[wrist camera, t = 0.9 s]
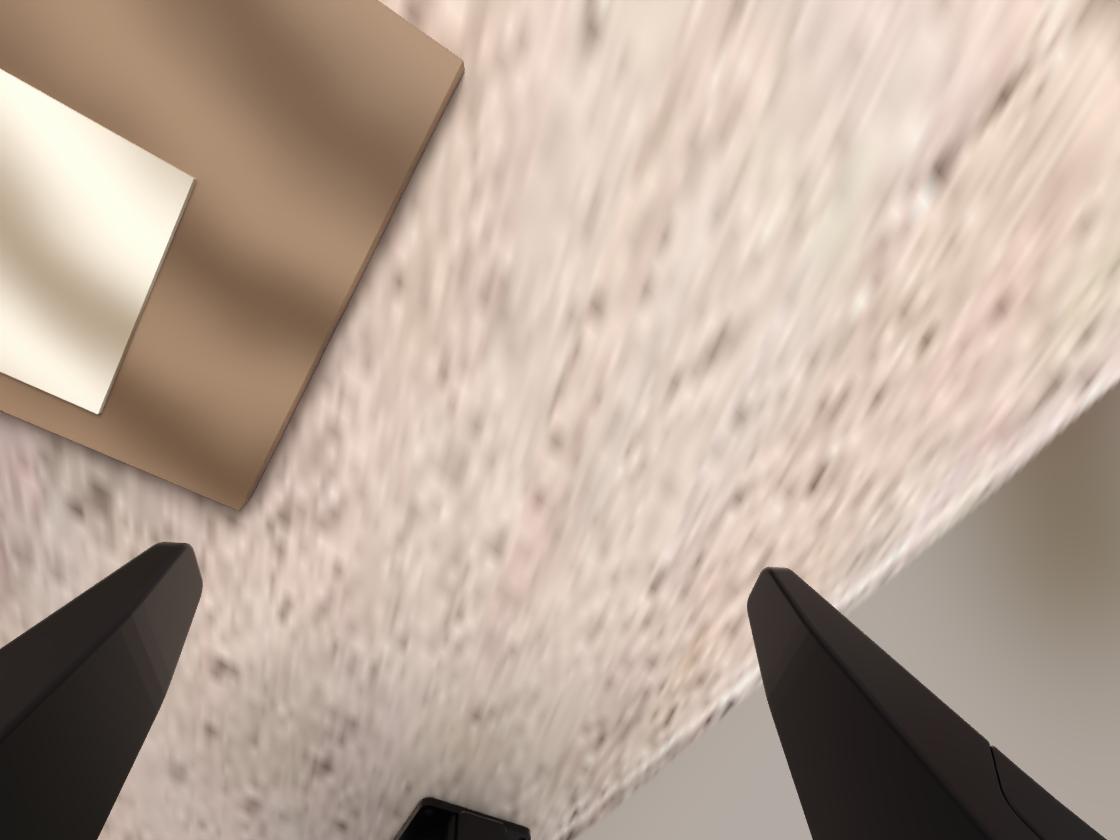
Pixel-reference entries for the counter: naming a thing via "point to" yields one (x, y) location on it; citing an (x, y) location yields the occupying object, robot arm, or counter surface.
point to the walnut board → (195, 213)
